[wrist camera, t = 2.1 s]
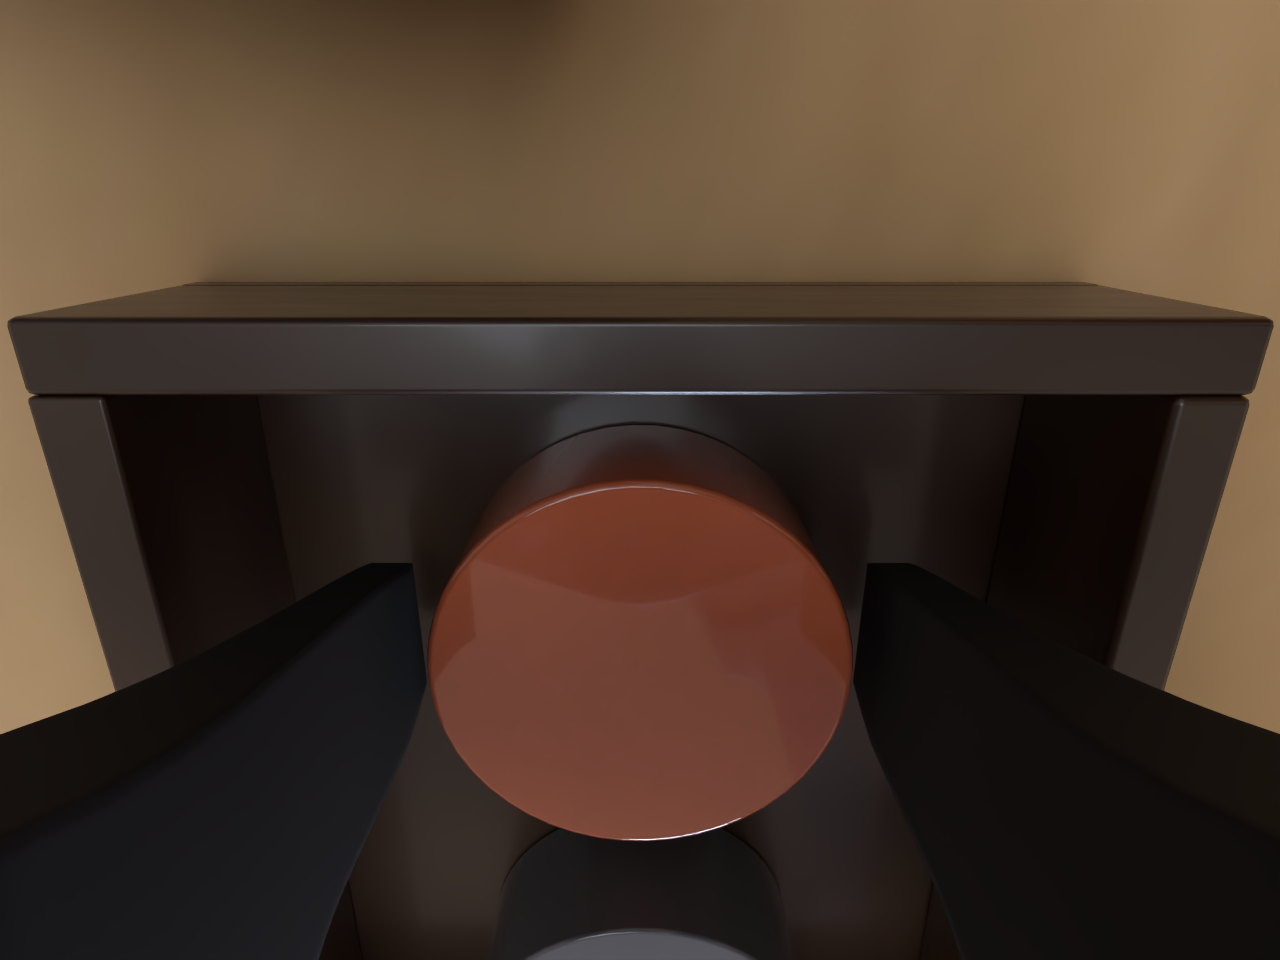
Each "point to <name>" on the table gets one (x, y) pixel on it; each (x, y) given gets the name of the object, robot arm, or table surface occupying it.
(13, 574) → the table surface
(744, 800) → the terracotta coaster
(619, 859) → the gray and black puck
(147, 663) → the dark brown tray
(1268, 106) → the table surface
